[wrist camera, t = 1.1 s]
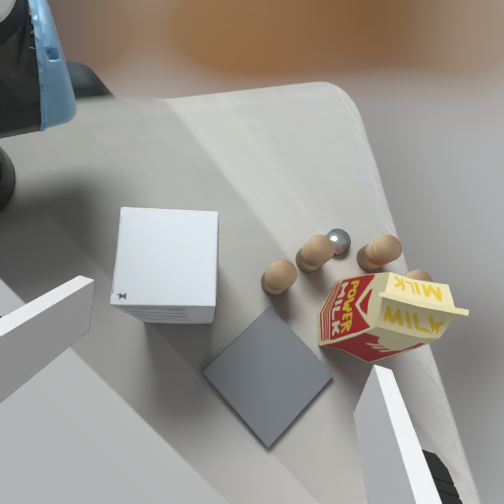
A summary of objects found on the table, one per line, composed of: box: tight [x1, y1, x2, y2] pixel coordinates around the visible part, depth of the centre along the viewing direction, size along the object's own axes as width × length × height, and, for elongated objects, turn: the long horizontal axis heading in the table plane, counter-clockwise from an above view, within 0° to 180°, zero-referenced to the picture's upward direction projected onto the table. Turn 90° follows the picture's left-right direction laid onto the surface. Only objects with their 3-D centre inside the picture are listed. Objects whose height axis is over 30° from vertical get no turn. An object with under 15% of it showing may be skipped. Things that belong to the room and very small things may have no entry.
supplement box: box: [109, 207, 219, 324], centre depth 39 cm, size 10×9×17 cm
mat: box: [202, 307, 333, 448], centre depth 45 cm, size 12×12×1 cm
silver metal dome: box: [326, 229, 351, 255], centre depth 51 cm, size 4×4×2 cm
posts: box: [261, 234, 433, 295], centre depth 47 cm, size 22×8×6 cm, turn 87°
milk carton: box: [317, 272, 469, 363], centre depth 39 cm, size 9×9×20 cm
